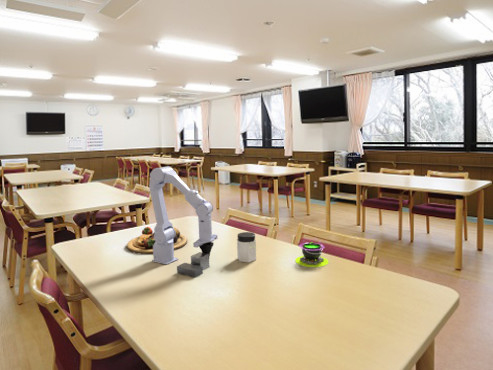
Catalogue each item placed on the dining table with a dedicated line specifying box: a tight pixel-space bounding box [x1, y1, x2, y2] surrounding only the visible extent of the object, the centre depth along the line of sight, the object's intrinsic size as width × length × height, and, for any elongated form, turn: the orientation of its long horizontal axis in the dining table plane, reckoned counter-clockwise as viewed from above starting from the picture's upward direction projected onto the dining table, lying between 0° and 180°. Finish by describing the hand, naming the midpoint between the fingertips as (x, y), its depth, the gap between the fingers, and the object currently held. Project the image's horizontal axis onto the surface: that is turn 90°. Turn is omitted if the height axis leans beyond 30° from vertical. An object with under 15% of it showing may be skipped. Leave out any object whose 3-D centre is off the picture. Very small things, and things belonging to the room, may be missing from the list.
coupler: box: [176, 262, 204, 278], centre depth 151 cm, size 10×14×3 cm
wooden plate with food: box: [126, 226, 188, 255], centre depth 188 cm, size 32×32×8 cm
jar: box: [236, 231, 257, 263], centre depth 161 cm, size 9×8×12 cm
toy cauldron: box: [294, 238, 330, 268], centre depth 157 cm, size 15×15×11 cm
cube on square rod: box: [190, 251, 210, 271], centre depth 152 cm, size 5×6×6 cm
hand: (206, 258), depth 156 cm, fingers closed
